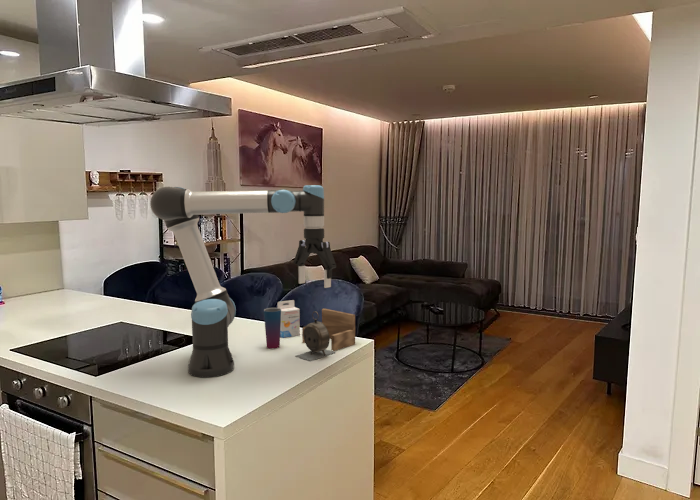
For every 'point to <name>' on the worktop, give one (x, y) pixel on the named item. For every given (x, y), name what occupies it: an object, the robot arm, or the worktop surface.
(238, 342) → the worktop surface
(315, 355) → the slate pad
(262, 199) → the robot arm
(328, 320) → the wooden holder
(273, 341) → the cup
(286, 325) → the ink box
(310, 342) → the alarm clock
